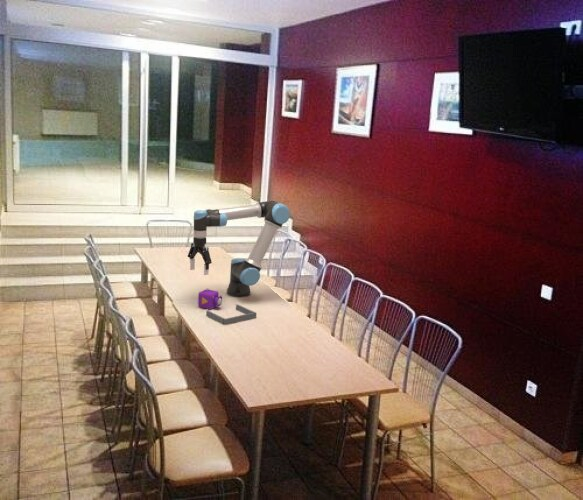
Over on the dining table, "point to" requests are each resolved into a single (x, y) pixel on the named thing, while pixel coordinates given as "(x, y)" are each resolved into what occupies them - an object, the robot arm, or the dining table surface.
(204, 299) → the toy camera
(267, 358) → the dining table surface
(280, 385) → the dining table surface
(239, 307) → the gray bracket frame
